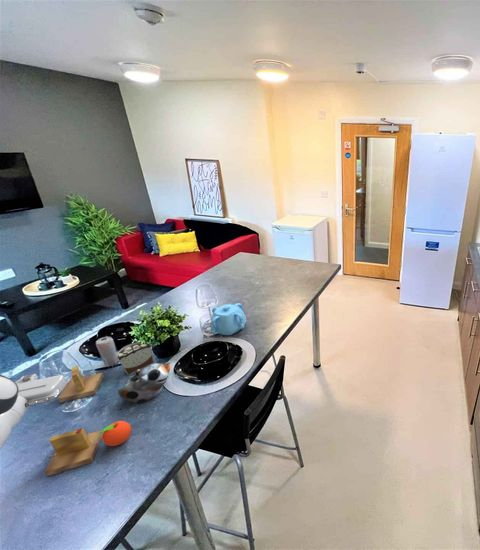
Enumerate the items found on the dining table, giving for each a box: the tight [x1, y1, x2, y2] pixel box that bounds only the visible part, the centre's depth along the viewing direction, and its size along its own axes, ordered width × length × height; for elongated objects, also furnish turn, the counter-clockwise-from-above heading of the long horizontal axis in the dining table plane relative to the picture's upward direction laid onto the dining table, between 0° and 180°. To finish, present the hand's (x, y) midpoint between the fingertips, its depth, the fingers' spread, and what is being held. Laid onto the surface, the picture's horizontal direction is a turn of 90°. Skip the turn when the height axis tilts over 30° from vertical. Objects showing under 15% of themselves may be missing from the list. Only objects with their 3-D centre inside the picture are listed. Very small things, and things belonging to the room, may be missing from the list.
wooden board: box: [44, 429, 104, 477], centre depth 87 cm, size 11×10×2 cm
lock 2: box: [71, 365, 84, 391], centre depth 108 cm, size 7×2×7 cm, turn 43°
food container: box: [116, 341, 155, 376], centre depth 120 cm, size 12×6×10 cm, turn 144°
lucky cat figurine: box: [117, 361, 171, 404], centre depth 108 cm, size 15×12×14 cm
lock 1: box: [49, 428, 91, 456], centre depth 85 cm, size 7×2×7 cm, turn 115°
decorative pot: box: [210, 302, 247, 336], centre depth 146 cm, size 16×16×14 cm
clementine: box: [97, 420, 132, 447], centre depth 90 cm, size 8×7×7 cm
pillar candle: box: [95, 336, 120, 367], centre depth 121 cm, size 5×5×12 cm
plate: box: [57, 372, 105, 403], centre depth 110 cm, size 11×10×2 cm
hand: (30, 376), depth 89 cm, fingers closed
